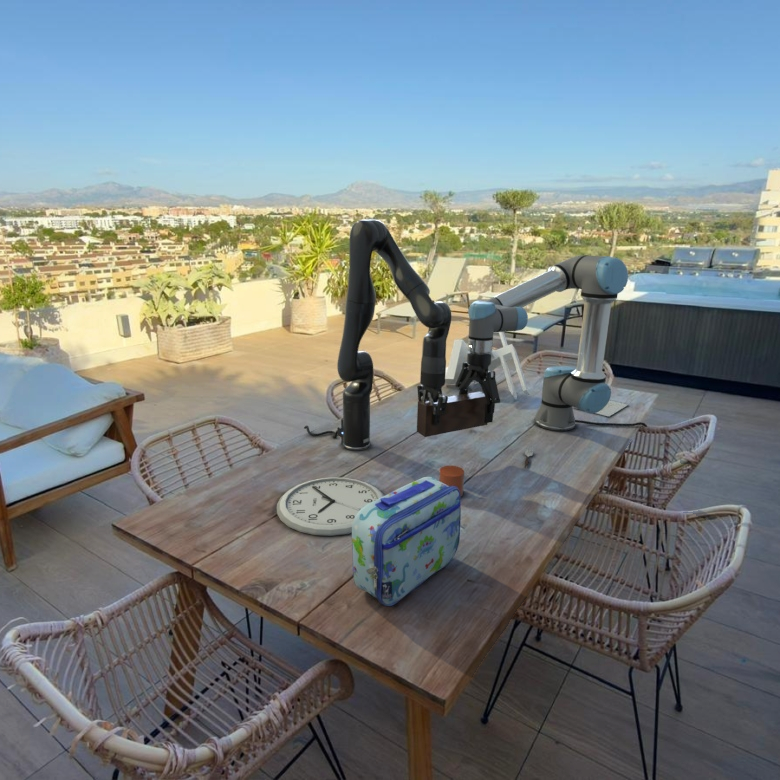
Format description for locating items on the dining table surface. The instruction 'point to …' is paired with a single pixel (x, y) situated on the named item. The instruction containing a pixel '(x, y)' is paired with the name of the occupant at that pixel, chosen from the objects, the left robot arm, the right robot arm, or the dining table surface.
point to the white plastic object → (497, 358)
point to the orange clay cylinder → (452, 477)
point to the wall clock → (325, 505)
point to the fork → (528, 455)
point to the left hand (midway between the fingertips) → (430, 421)
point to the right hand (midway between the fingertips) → (475, 415)
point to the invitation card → (611, 408)
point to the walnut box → (453, 414)
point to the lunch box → (405, 538)
